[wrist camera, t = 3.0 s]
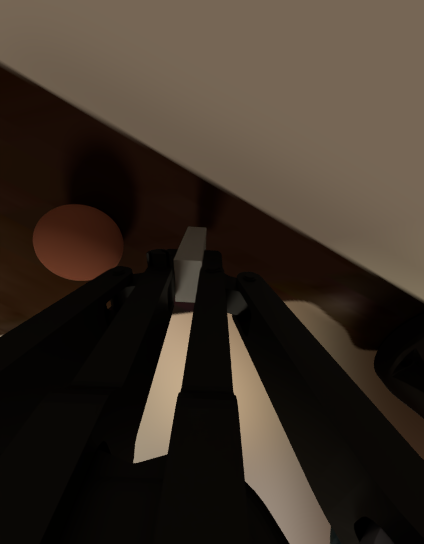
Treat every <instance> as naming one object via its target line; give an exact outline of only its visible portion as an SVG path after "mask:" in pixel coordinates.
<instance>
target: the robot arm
mask: <svg viewBox="0 0 424 544" xmlns="http://www.w3.org/2000/svg"><path fill="white" fill-rule="evenodd" d="M146 254H147V263H148V268H147V269H146V271H145V272H144V273H139V274H132V269H131V268H129V267H123V266H118V267H115V268H111V269H109V270H107V271H105V272H104V273H102V274H101V275H99V276H97V277H96V278H94V279H93V280H91V281H89V282H88V283H86V284H85V285H83V286H81V287H80V288H78V289H77V290H75V291H73V292H72V293H70V294H69V295H67V296H65V297H64V298H62V299H60V300H59V301H57V302H56V303H54V304H52V305H51V306H49V307H48V308H46V309H44V310H43V311H41V312H40V313H38V314H36V315H35V316H33V317H32V318H30V319H28V320H27V321H25V322H24V323H22V324H20V325H19V326H17V327H16V328H14V329H12V330H11V331H9V332H8V333H6V334H4V335H3V336H1V337H0V544H289V542H288V540H287V539H286V537H285V536H284V534H283V532H282V531H281V529H280V528H279V526H278V524H277V523H276V521H275V519H274V518H273V516H272V515H271V513H270V511H269V510H268V508H267V507H266V505H265V504H264V503H263V501H262V500H261V499H260V497H259V496H258V495H257V494H256V492H255V491H254V490H253V489H252V488H251V487H250V486H249V485H248V484H247V483H246V482H245V479H244V467H243V456H242V446H241V434H240V423H239V412H238V404H237V399H236V396H235V395H234V393H233V383H232V370H231V359H230V344H229V331H228V318H227V313H230V314H232V318H233V320H234V323H235V325H236V327H237V329H238V331H239V333H240V336H241V338H242V340H243V342H244V344H245V346H246V348H247V350H248V353H249V355H250V357H251V359H252V362H253V363H254V366H255V368H256V370H257V372H258V374H259V376H260V379H261V381H262V383H263V385H264V387H265V390H266V392H267V394H268V396H269V398H270V400H271V402H272V405H273V407H274V409H275V411H276V413H277V415H278V417H279V420H280V422H281V424H282V426H283V428H284V431H285V432H286V435H287V437H288V439H289V441H290V444H291V446H292V448H293V450H294V452H295V454H296V456H297V459H298V461H299V463H300V465H301V467H302V469H303V472H304V473H305V476H306V478H307V480H308V482H309V485H310V487H311V489H312V491H313V493H314V495H315V497H316V499H317V501H318V503H319V505H320V506H321V508H322V510H323V512H324V514H325V516H326V518H327V520H328V522H329V523H330V525H331V533H330V544H424V460H423V459H422V458H421V457H420V456H419V455H418V454H417V452H416V451H415V450H414V449H413V448H412V447H411V446H410V445H409V443H408V442H407V441H406V440H405V439H404V438H403V437H402V436H401V434H400V433H399V432H398V431H397V430H396V429H395V428H394V426H393V425H392V424H391V423H390V422H389V421H388V420H387V419H386V418H385V416H384V415H383V414H382V413H381V412H380V411H379V410H378V408H377V407H376V406H375V405H374V404H373V403H372V402H371V400H370V399H369V398H368V397H367V396H366V395H365V394H364V393H363V391H361V389H360V388H359V387H358V386H357V385H356V384H355V382H354V381H353V380H352V379H351V378H350V377H349V376H348V374H346V372H345V371H344V370H343V369H342V368H341V367H340V366H339V364H338V363H337V362H336V361H335V360H334V359H333V358H332V357H331V355H330V354H329V353H328V352H327V351H326V350H325V348H324V347H323V346H322V345H321V344H320V343H319V342H318V341H317V339H316V338H314V336H313V335H312V334H311V333H310V332H309V330H308V329H307V328H306V327H305V326H304V325H303V324H302V323H301V322H300V320H299V319H298V318H297V317H296V316H295V315H294V313H293V312H292V311H291V310H290V309H289V308H288V307H287V306H286V304H285V303H284V302H283V301H282V300H281V299H280V298H279V296H278V295H277V294H276V293H275V292H274V291H273V290H272V289H271V287H270V286H269V285H268V284H267V283H266V282H265V281H264V280H263V278H262V277H261V276H259V275H258V274H255V273H253V272H242V273H239V274H238V275H237V278H234V277H230V276H228V275H226V274H225V273H224V270H223V268H222V255H221V253H220V252H219V251H210V250H206V228H205V227H188V228H187V231H186V233H185V235H184V237H183V240H182V242H181V244H180V246H179V249H167V250H165V249H155V250H151V251H148V252H147V253H146ZM174 297H175V301H176V302H195V305H194V311H193V318H192V324H191V330H190V337H189V343H188V350H187V356H186V363H185V370H184V376H183V382H182V388H181V392H180V393H179V394H178V397H177V402H176V408H175V413H174V419H173V425H172V431H171V437H170V443H169V450H168V454H167V455H164V456H160V457H157V458H153V459H150V460H146V461H143V462H139V463H133V459H134V449H135V441H136V436H137V433H138V429H139V426H140V422H141V419H142V415H143V412H144V409H145V405H146V402H147V398H148V395H149V391H150V388H151V384H152V381H153V377H154V374H155V371H156V367H157V363H158V360H159V357H160V353H161V349H162V346H163V343H164V339H165V336H166V333H167V329H168V326H169V322H170V318H171V315H172V312H173V308H174ZM109 300H110V301H111V307H110V308H109V309H107V306H106V303H107V302H108V301H109ZM374 369H375V372H376V374H377V375H378V377H379V378H380V379H381V381H382V382H383V383H384V385H385V386H386V387H387V388H388V390H389V391H390V392H391V393H392V394H393V395H395V396H396V397H397V398H398V399H400V400H401V401H402V402H403V403H404V404H406V405H407V406H408V407H410V408H411V409H412V410H413V411H415V412H416V413H417V414H418V415H420V416H421V417H422V418H423V419H424V313H423V314H421V315H419V316H417V317H415V318H413V319H412V320H410V321H408V322H407V323H405V324H403V325H402V326H401V327H399V328H398V329H397V330H395V331H394V332H393V333H392V334H391V335H390V336H389V337H388V338H387V339H386V340H385V341H384V342H383V343H382V345H381V346H380V348H379V349H378V351H377V354H376V356H375V360H374Z"/></svg>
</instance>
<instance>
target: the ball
mask: <svg viewBox="0 0 424 544" xmlns="http://www.w3.org/2000/svg"><path fill="white" fill-rule="evenodd" d="M33 245H34V250H35V252H36V255H37V257H38V258H39V260H40V261H41V262H42V264H43V265H44V266H45V267H46V268H48V269H49V270H50V271H52V272H53V273H55V274H56V275H59V276H61V277H63V278H66V279H70V280H77V281H87V280H93V279H94V278H96V277H97V276H99V275H101V274H102V273H104V272H105V271H107V270H109V269H111V268H115V267H116V265H117V264H118V263H119V261H120V259H121V257H122V254H123V248H124V242H123V237H122V234H121V231H120V229H119V227H118V226H117V224H116V223H115V222H114V221H113V220H112V219H111V218H110V217H109V216H108V215H106V214H105V213H104V212H102V211H100V210H98V209H96V208H93V207H90V206H87V205H80V204H69V205H63V206H59V207H57V208H54V209H52V210H51V211H49V212H47V213H46V214H45V215H44V216H43V217H42V218H41V219H40V220H39V221H38V223H37V225H36V227H35V229H34V234H33Z"/></svg>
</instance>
